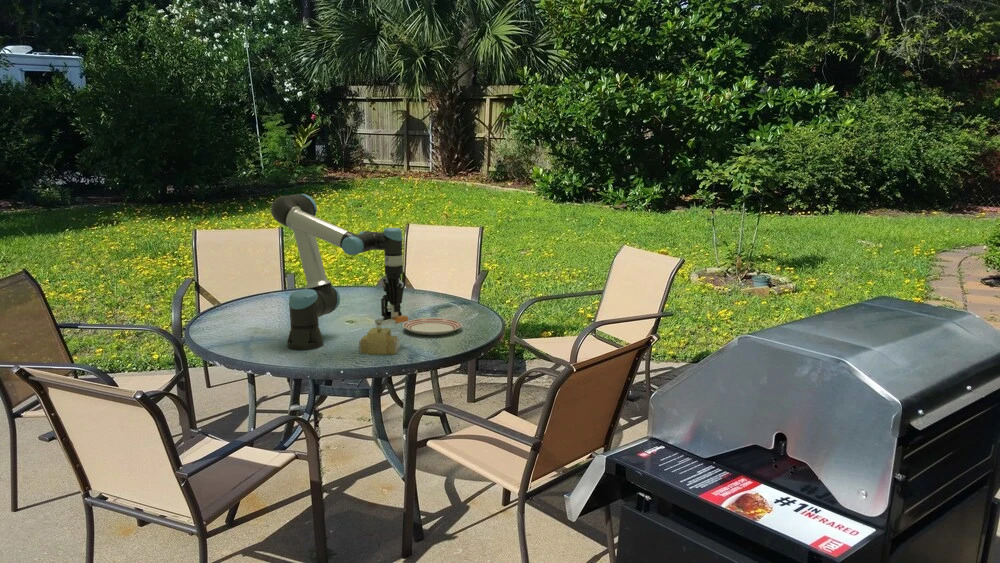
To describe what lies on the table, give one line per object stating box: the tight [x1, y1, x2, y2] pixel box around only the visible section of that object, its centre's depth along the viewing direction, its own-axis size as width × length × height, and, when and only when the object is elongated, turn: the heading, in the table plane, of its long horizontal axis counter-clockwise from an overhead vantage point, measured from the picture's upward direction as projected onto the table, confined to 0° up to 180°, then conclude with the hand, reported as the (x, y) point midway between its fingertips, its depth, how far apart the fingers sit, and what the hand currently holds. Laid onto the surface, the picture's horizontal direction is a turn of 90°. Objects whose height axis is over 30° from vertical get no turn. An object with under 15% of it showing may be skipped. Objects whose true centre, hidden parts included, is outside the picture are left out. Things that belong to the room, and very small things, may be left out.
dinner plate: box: [402, 317, 463, 336], centre depth 343 cm, size 28×27×3 cm
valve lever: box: [374, 314, 409, 331], centre depth 311 cm, size 3×16×4 cm, turn 135°
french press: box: [380, 284, 403, 321], centre depth 359 cm, size 12×9×23 cm
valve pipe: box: [358, 327, 401, 356], centre depth 308 cm, size 16×8×9 cm, turn 85°
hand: (394, 318), depth 315 cm, fingers closed
